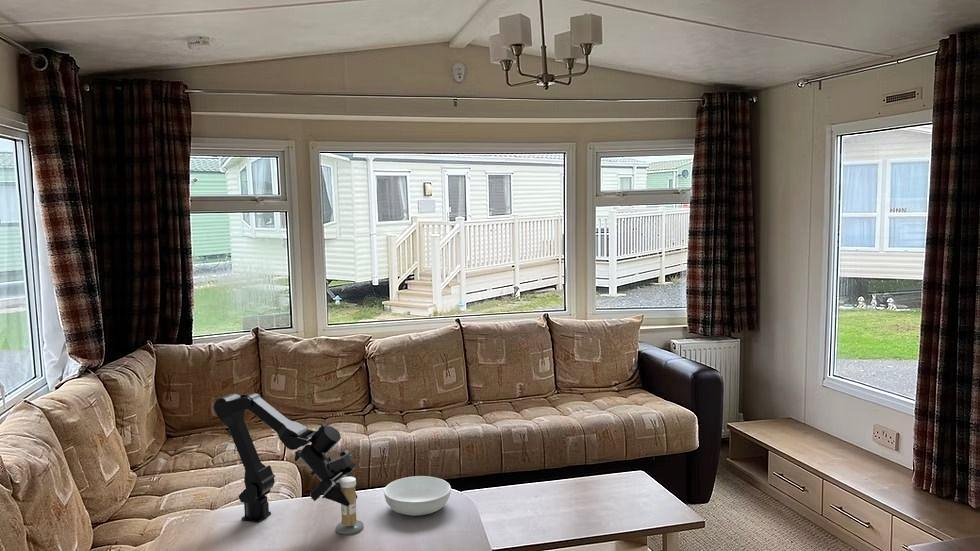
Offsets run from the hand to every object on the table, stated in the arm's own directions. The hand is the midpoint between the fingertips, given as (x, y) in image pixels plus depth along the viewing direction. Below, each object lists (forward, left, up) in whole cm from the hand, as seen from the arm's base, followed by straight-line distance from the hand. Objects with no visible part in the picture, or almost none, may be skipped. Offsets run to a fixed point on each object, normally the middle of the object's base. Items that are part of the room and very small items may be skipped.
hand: (352, 502), depth 197 cm
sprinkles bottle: (-1, 0, -7) cm, 7 cm away
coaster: (-1, 0, -8) cm, 8 cm away
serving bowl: (+13, +18, -9) cm, 24 cm away
